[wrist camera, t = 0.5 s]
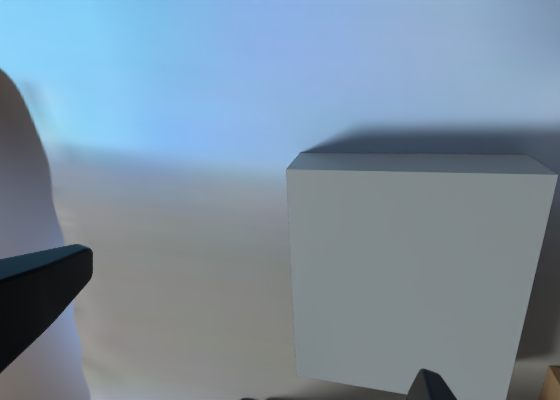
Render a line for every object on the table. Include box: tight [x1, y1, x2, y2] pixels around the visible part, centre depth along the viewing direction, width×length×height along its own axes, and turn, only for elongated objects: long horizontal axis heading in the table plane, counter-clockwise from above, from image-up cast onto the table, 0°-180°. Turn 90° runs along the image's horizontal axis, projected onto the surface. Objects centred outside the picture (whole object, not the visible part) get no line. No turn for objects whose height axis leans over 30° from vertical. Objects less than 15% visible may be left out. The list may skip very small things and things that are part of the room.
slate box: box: [286, 153, 558, 400], centre depth 21 cm, size 14×12×4 cm
